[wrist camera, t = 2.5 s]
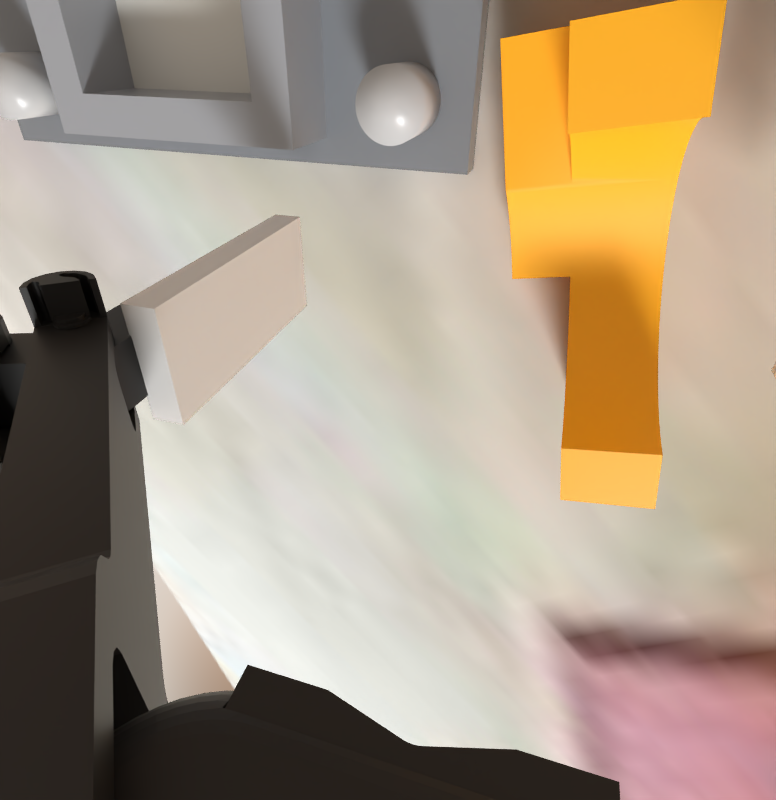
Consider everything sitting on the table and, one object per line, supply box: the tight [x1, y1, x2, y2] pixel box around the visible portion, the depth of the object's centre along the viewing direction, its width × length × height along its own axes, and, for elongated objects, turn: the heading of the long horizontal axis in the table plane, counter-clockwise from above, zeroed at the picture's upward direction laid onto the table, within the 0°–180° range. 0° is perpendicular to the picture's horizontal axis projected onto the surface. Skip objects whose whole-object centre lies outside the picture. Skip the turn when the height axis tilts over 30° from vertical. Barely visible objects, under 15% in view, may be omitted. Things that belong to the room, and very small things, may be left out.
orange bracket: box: [500, 0, 727, 509], centre depth 16 cm, size 12×4×6 cm, turn 10°
